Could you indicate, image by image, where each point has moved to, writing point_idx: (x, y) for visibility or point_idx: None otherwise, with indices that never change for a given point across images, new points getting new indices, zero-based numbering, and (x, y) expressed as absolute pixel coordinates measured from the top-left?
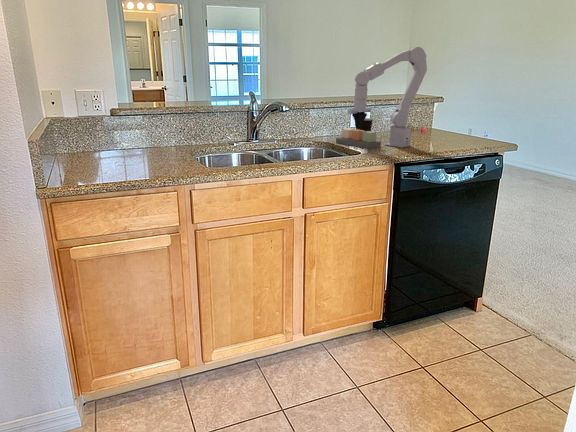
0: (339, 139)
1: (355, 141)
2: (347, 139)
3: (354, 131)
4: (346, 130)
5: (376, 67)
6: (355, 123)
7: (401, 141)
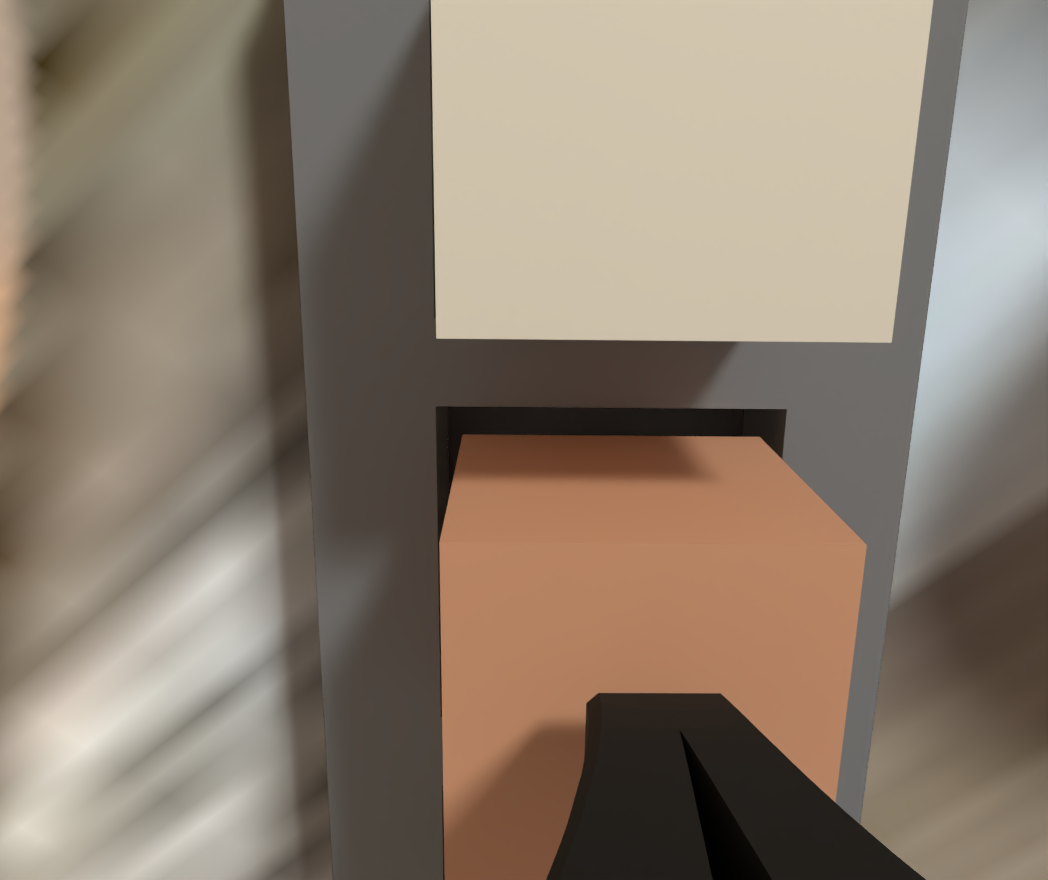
0: (291, 33)
1: (324, 689)
2: (360, 349)
3: (445, 659)
4: (441, 194)
5: None
6: (560, 844)
7: None
